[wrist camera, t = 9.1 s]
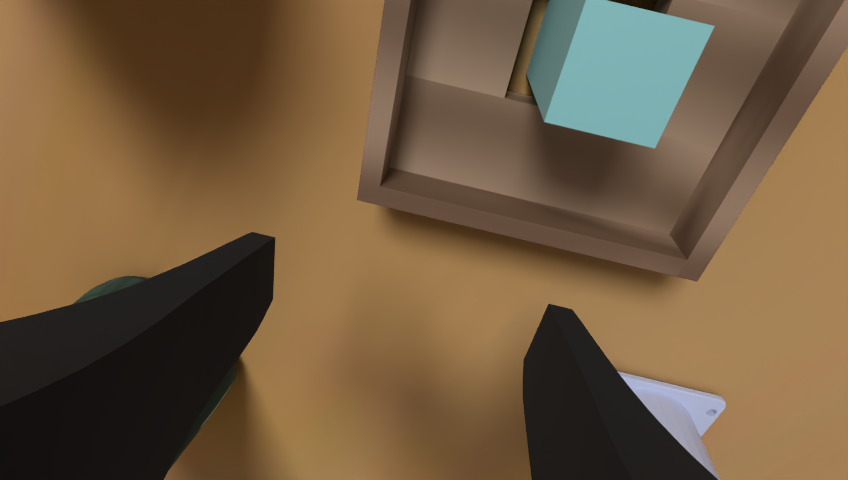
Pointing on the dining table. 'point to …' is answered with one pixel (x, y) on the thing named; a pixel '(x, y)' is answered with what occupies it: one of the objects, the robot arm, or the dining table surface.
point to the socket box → (581, 151)
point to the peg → (613, 67)
